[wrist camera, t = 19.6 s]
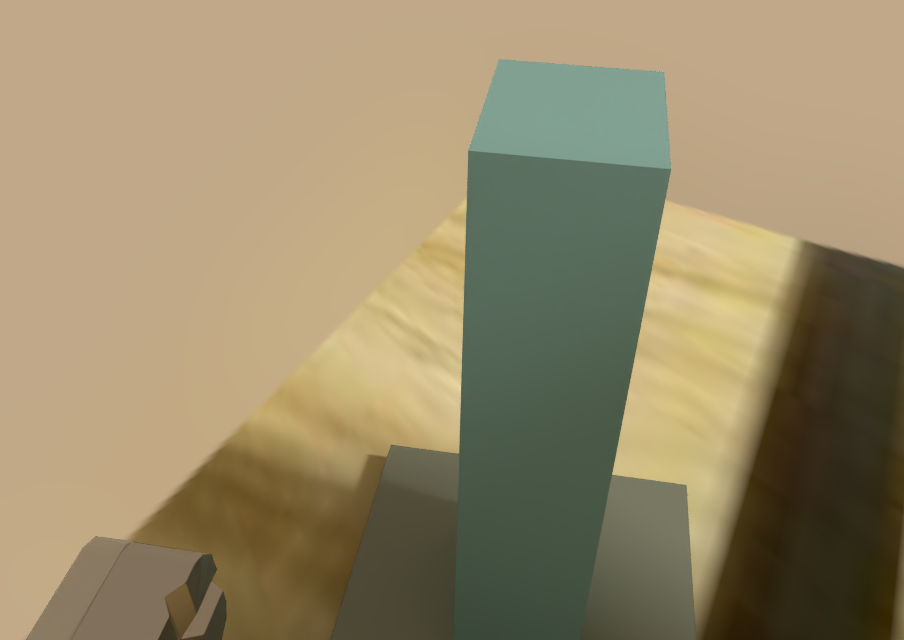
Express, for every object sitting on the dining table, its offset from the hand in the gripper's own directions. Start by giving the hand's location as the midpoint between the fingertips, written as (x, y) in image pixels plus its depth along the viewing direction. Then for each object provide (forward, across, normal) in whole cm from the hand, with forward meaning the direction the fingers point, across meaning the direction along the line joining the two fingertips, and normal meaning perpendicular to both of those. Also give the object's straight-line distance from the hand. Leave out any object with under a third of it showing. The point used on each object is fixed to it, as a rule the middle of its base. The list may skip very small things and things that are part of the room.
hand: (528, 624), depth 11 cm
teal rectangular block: (+12, +1, +17) cm, 20 cm away
